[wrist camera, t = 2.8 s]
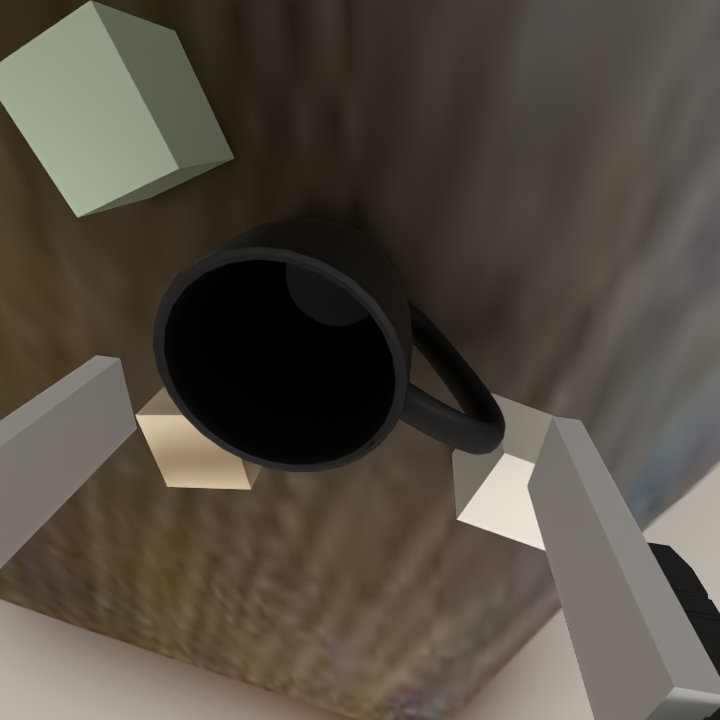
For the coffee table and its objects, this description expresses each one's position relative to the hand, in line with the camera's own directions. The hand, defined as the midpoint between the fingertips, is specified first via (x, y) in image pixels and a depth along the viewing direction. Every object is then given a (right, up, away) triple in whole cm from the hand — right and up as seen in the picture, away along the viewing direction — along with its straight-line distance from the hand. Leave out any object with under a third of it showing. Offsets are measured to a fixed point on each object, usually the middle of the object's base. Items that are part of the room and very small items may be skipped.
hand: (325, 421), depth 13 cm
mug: (+2, +5, +9) cm, 10 cm away
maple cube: (-7, -1, +13) cm, 15 cm away
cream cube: (+10, -3, +12) cm, 16 cm away
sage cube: (-8, +13, +6) cm, 16 cm away
